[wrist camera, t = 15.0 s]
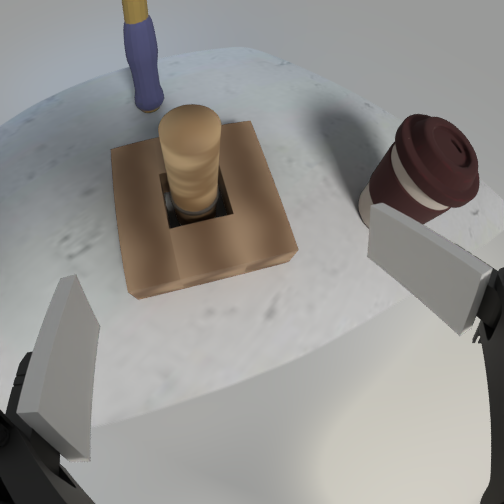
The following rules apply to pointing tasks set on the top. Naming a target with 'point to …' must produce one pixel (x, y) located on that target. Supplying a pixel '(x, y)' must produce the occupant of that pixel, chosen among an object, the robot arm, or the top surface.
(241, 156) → the walnut socket block
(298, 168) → the top surface
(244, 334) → the top surface
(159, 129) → the oak peg
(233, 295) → the top surface
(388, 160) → the coffee cup
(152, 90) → the rubber mallet
